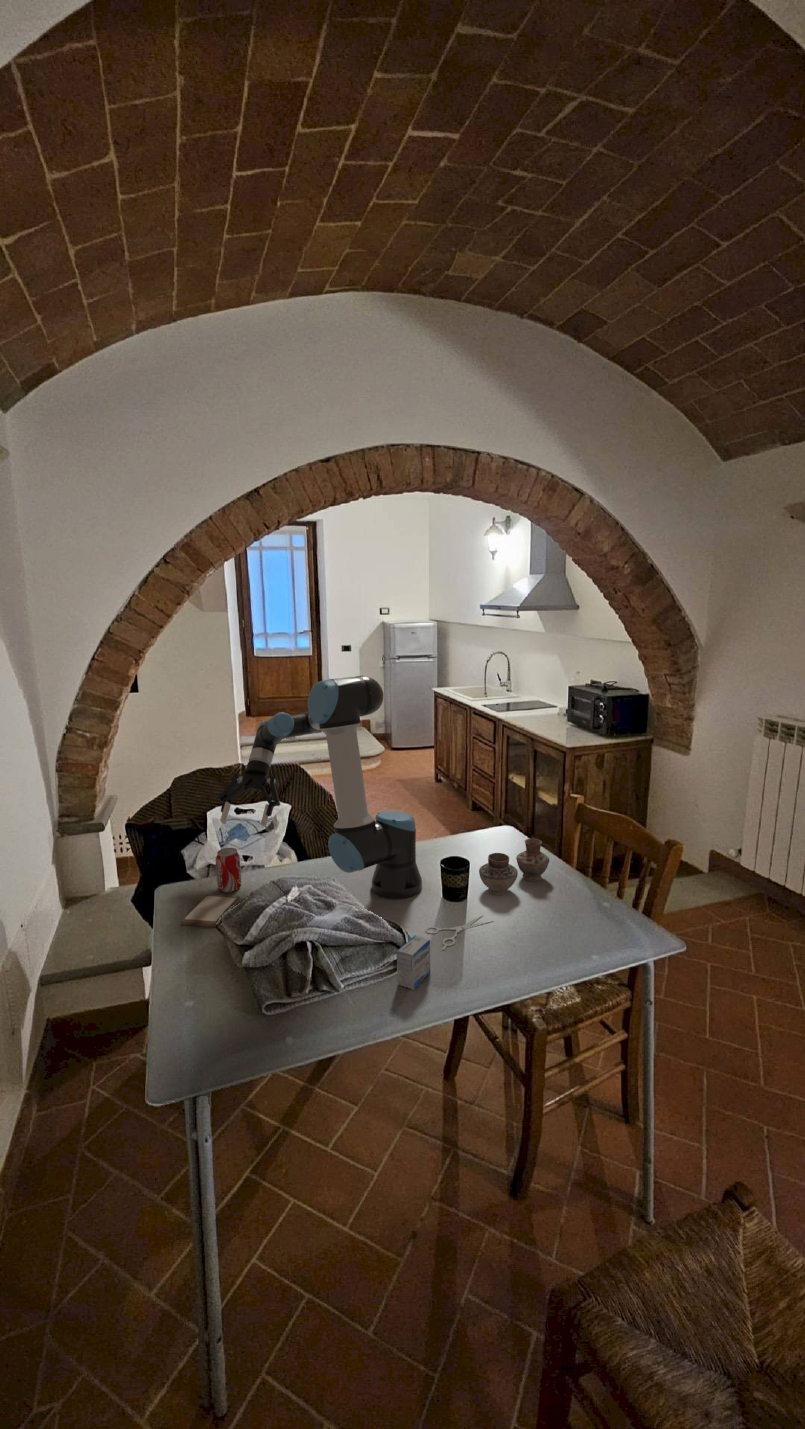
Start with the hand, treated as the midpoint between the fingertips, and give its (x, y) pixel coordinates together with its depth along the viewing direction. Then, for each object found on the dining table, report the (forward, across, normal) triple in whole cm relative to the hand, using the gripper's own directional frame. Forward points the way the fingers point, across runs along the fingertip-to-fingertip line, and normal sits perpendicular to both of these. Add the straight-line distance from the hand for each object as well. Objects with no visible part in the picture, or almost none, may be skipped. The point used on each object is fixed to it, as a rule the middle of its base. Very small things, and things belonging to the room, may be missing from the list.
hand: (242, 823), depth 196 cm
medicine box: (+44, -62, +22) cm, 79 cm away
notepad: (+29, -1, +6) cm, 30 cm away
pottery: (+8, -85, -14) cm, 86 cm away
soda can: (+20, 0, -4) cm, 20 cm away
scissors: (+28, -71, +6) cm, 77 cm away
